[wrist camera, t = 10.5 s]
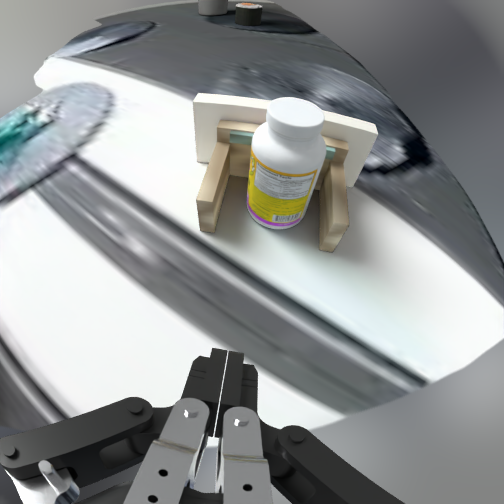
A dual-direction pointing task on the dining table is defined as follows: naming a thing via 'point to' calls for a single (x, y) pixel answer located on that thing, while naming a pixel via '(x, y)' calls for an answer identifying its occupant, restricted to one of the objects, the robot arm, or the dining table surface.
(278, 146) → the supplement bottle
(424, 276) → the dining table surface
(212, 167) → the cradle
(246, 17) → the sushi
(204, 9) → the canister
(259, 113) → the backstop board
